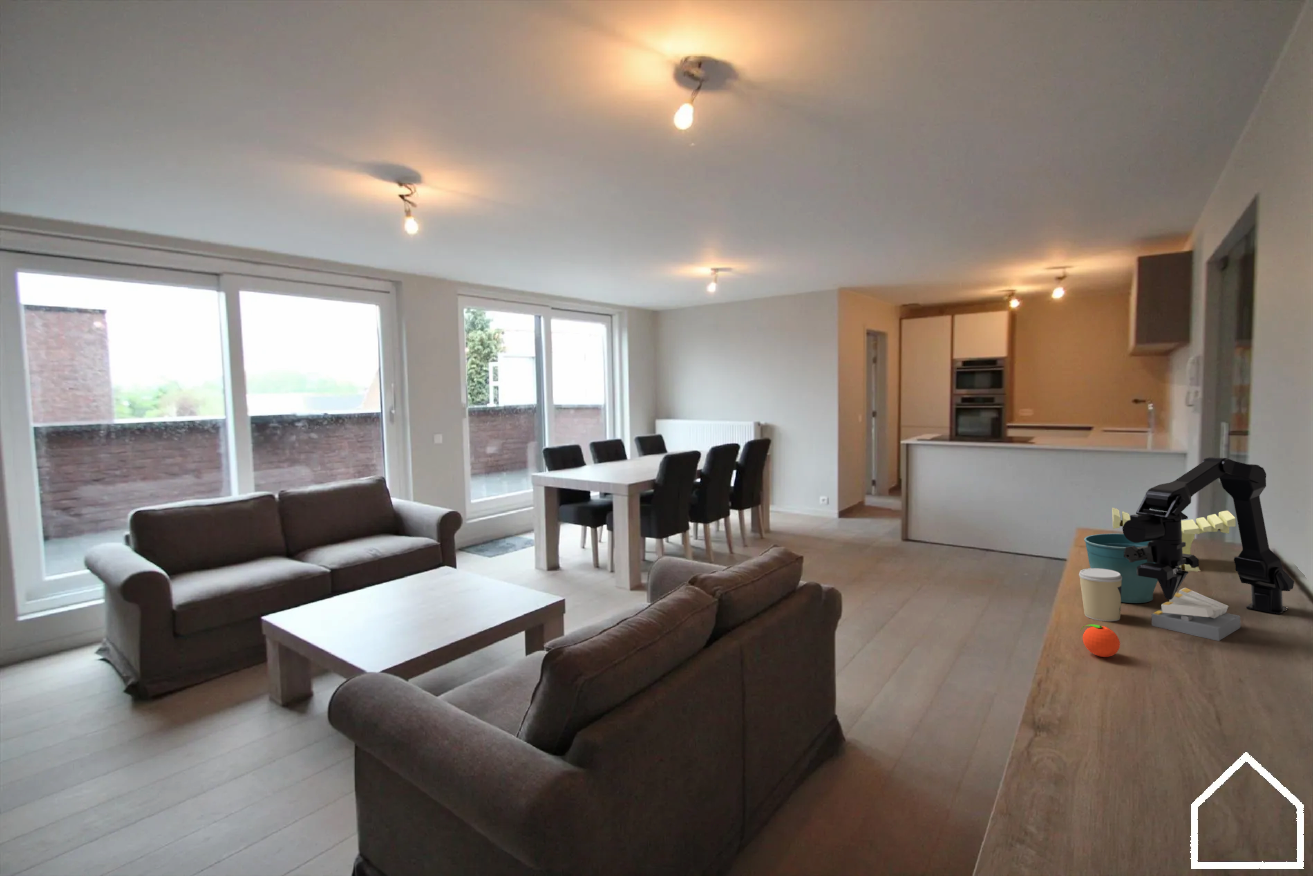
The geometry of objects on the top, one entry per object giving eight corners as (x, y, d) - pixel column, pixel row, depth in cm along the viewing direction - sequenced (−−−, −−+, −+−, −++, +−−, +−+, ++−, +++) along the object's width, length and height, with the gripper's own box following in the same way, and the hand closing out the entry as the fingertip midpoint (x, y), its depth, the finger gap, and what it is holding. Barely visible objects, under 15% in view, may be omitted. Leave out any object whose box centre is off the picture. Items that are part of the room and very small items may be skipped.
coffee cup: (1131, 622, 154) (1129, 577, 153) (1091, 622, 156) (1089, 578, 155) (1112, 610, 163) (1110, 567, 163) (1074, 610, 165) (1072, 568, 164)
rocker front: (1168, 609, 151) (1166, 601, 151) (1213, 614, 143) (1211, 605, 143) (1162, 612, 149) (1160, 603, 149) (1208, 617, 141) (1206, 608, 141)
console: (1174, 613, 157) (1174, 599, 157) (1240, 627, 146) (1239, 611, 146) (1151, 625, 151) (1151, 610, 151) (1218, 641, 140) (1218, 624, 139)
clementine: (1071, 652, 140) (1070, 623, 139) (1090, 645, 142) (1088, 617, 142) (1109, 664, 132) (1107, 633, 132) (1127, 657, 135) (1126, 627, 135)
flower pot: (1097, 606, 167) (1094, 547, 166) (1079, 587, 183) (1076, 533, 183) (1177, 609, 160) (1175, 547, 159) (1151, 589, 177) (1148, 533, 176)
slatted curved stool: (1227, 561, 196) (1225, 508, 196) (1237, 574, 184) (1235, 517, 183) (1114, 554, 214) (1111, 505, 214) (1115, 565, 201) (1113, 514, 201)
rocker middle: (1174, 599, 153) (1176, 592, 152) (1219, 615, 145) (1221, 607, 145) (1169, 602, 151) (1170, 594, 151) (1214, 618, 144) (1216, 610, 143)
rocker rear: (1182, 594, 155) (1184, 587, 154) (1225, 612, 148) (1228, 605, 147) (1176, 596, 154) (1179, 589, 153) (1220, 615, 146) (1223, 608, 146)
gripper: (1145, 527, 160) (1147, 584, 160) (1111, 539, 151) (1113, 599, 151) (1198, 533, 150) (1200, 594, 151) (1164, 546, 141) (1167, 610, 142)
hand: (1169, 599), depth 149 cm, fingers closed
